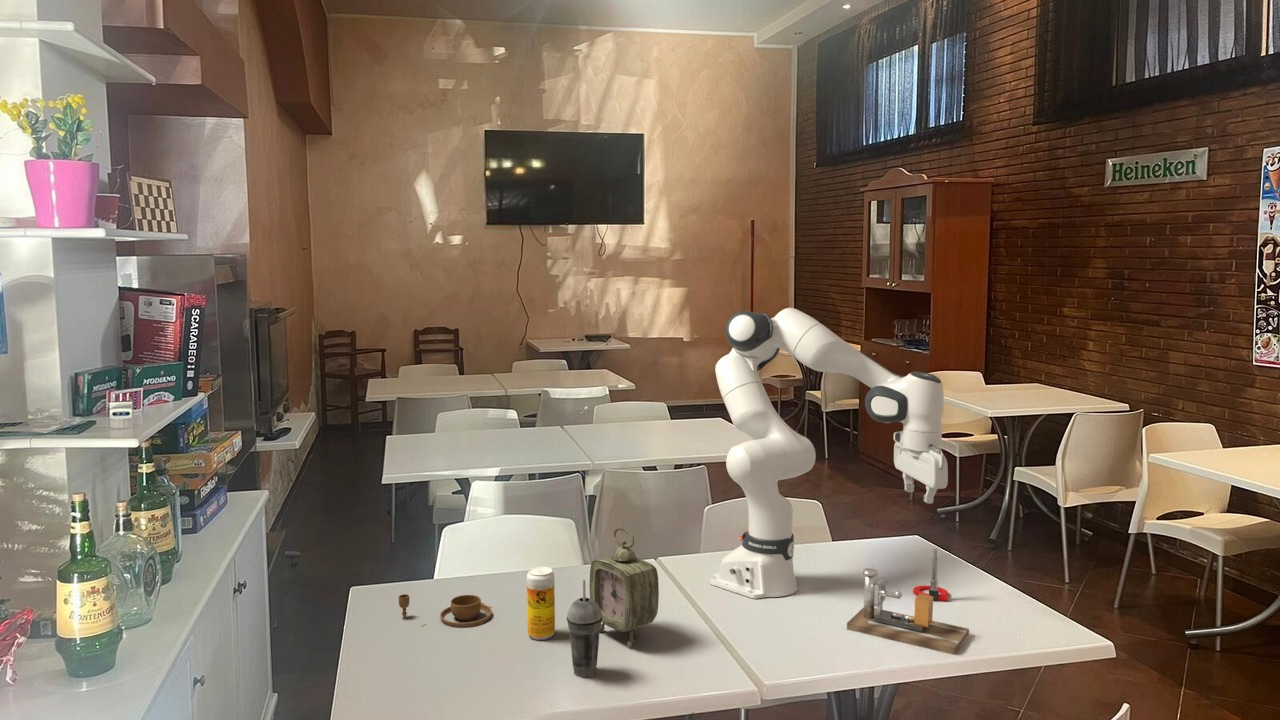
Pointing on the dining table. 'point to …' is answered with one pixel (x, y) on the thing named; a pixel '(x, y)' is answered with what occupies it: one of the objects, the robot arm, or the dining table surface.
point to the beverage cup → (584, 634)
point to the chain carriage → (914, 623)
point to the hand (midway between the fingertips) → (918, 496)
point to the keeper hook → (873, 592)
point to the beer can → (540, 603)
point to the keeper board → (913, 633)
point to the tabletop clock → (624, 589)
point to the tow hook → (933, 584)
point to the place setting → (457, 610)
